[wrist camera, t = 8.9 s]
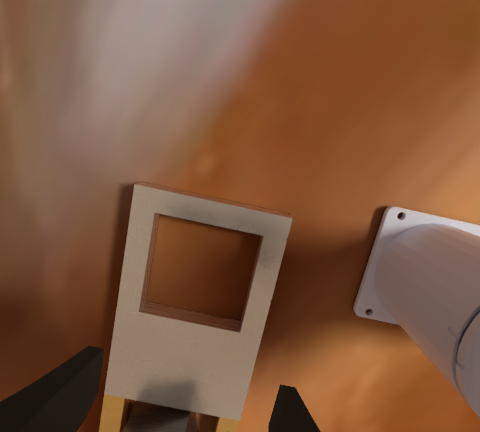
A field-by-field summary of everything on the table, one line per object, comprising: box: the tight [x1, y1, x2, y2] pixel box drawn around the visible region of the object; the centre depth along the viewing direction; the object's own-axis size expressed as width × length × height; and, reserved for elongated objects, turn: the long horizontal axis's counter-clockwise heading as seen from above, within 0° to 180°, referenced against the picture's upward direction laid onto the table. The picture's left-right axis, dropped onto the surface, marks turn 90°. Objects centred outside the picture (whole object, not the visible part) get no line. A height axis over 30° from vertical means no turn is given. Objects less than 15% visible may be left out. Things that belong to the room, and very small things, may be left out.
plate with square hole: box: [99, 182, 293, 432], centre depth 23 cm, size 10×24×2 cm, turn 168°
